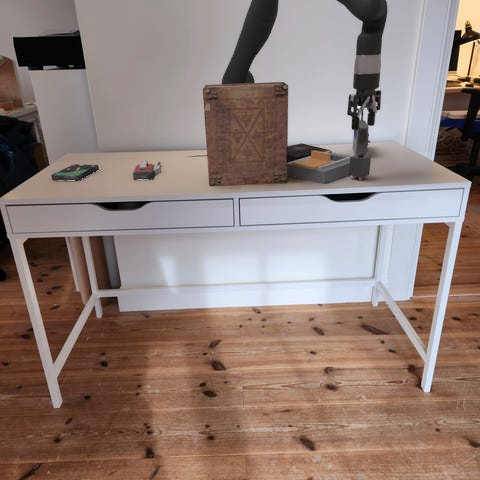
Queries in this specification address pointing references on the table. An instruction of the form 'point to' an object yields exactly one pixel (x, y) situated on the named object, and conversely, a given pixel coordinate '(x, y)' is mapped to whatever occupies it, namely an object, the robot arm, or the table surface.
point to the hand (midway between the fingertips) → (363, 127)
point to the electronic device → (361, 137)
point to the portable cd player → (301, 151)
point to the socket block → (322, 169)
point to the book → (246, 133)
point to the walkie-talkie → (146, 170)
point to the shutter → (314, 160)
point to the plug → (359, 165)
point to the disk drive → (75, 172)
